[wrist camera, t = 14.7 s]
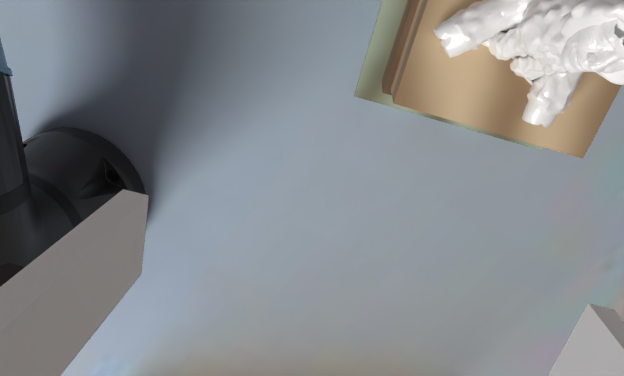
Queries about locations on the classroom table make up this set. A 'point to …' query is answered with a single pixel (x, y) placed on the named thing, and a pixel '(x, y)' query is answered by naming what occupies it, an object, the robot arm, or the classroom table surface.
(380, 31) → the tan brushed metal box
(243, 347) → the classroom table surface
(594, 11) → the seated beast figurine
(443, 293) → the classroom table surface
